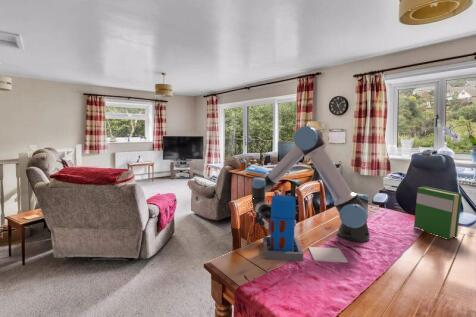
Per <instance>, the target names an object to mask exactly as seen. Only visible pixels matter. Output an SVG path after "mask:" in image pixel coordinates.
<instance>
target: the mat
mask: <svg viewBox="0 0 476 317" xmlns="http://www.w3.org/2000/svg"><path fill="white" fill-rule="evenodd" d="M308 250H309V252H310V255H311V257H312V259H313V261H314V262H329V263H344V264H345V263H349V260H348V259H347V258H346V256H345V255H344V253H343V252H342V251H341V249H340V248H337V247H321V246H319V247H318V246H316V247H315V246H308Z"/></svg>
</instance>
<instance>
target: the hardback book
mask: <svg viewBox="0 0 476 317" xmlns="http://www.w3.org/2000/svg"><path fill="white" fill-rule="evenodd" d="M416 193H417V194H416V204H415V214H414V222H413V223H414V224H413V228H414V227H418V228H420V229H423V230H424V231H426V232H429V233H432V234H435V235H438V236H441V237H444V238H447V239H451V238H453V237H454V236H455V237H457V238H458V232H459V231H458V230H459V223H460V222H459V221H460V214H461V207H462V206H461V205H462V204H461V203H462V196H463V194H462V193H461V192H460V193H459V192H454V191H450V190H445V189H440V188H434V187H430V186H421V187H417V192H416ZM426 232H425V233H426ZM429 233H428V234H429ZM432 234H431V235H432ZM435 235H434V236H435ZM438 236H437V237H438ZM441 237H440V238H441ZM444 238H443V239H444Z"/></svg>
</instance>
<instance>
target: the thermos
mask: <svg viewBox="0 0 476 317" xmlns="http://www.w3.org/2000/svg"><path fill="white" fill-rule="evenodd" d="M296 204H297V203H296V197H294V196H293V195H288V194H287V195H286V194H276V195H273V196H271V202H270V206H271V218H270V227H269V228H270V231H269V232H270V233H269V237H270V244H269V251H284V252H294V248H295V246H294V238H295V220H296Z"/></svg>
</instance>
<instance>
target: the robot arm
mask: <svg viewBox="0 0 476 317" xmlns="http://www.w3.org/2000/svg"><path fill="white" fill-rule="evenodd" d="M293 143H294V146H293V147H292V148H291V149H290V150H289V151H288V152H287V154H285V156H284V157H283V158H282V159H281V160H279V162H278V163H277V164H276V165H274V167H273V168H272V169H271V170H270V172H268V174H266V176H265V177H254V178H252V182H251V199H252V203H253V210H252V211H254V212H255V217H254V223H255V225H257V224H258V225H259V226H263V227H265V229H266V230H269V228H270V223H269V221H267V220H271V205H270V204H268V203H266V192H268V191H271V190H272V189H274V188H275V186H276V185H277V184H278V183H279V182H280V181H281V179H283V177H285V175H287V173H288V172H289V171H290V170H291V169H292V168H293V167H295V166H296V165H297V164H298V162H299V161H300V160H301V159H302V158H303V157H306V158H308V159H310V161H311V162H312V165H313V166H314V167H315V169H316V171H317V172H318V174H319V176H320V177H321V179H322V181H323V182H324V185H325V186H326V188H327V189H328V190H329V192H330V194H331V196H332V197H333V199H334V203H333V204H334V205H333V206H334V207H335V208H336V210H337V212H338V217H339V219H340V222H341V223H340V226H339V228H338V233H337V234H338V236H339V237H341V238H343V239H344V240H347V241H350V242H351V241H352V242H358V243H359V242H361V243H363V242H368V241H369V240H370V237H371V236H370V231H369V227H368V218H369V214H368V213H369V212H368V211H369V202H370V200H369V195H367V194H365V193H359V192H353V191H352V190H351V189H350V187H349V185H348V183H347V182H346V180H345V179H344V177H343V176H342V174H341V173H340V171H339V169H338V167H337V166H336V165H335V163H334V161H333V159H332V157H331V156H330V155H329V153H328V152H327V150H326V146H327V144H326V142H325V141H324V139H323V132H322V131H321V130H320V128H319V127H317V126H313V125H303V126H300V127H299V128H297V130H296V131H295V132H294V135H293ZM253 198H254V199H253ZM295 227H297V220H296V219H295Z"/></svg>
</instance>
